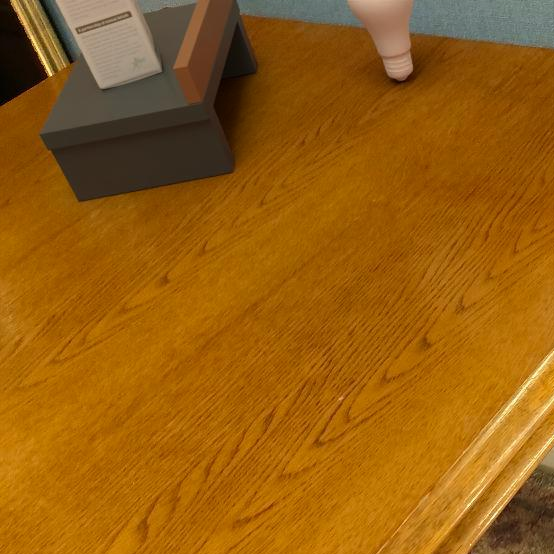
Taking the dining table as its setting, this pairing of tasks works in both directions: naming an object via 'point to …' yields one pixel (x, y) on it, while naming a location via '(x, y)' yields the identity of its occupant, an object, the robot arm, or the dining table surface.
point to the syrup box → (112, 39)
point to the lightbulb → (388, 32)
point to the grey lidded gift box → (153, 108)
